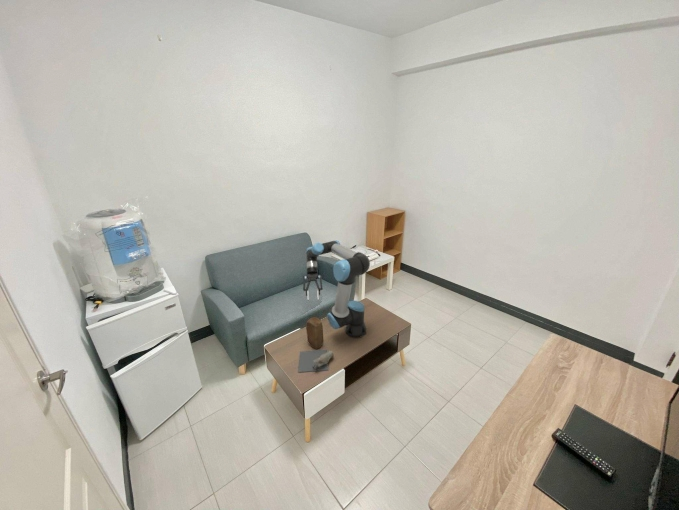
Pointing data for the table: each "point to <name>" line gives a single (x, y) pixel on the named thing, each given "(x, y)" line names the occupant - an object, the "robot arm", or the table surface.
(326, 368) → the mat
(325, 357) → the decorative bird
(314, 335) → the block
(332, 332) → the table surface
